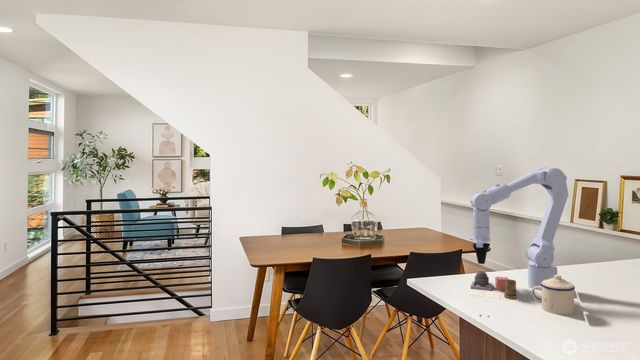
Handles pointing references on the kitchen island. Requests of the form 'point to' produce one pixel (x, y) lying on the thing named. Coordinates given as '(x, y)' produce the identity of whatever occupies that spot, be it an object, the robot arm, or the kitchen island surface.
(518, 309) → the kitchen island surface
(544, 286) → the teacup with lid
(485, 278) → the dark gray round knob
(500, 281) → the die
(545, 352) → the kitchen island surface
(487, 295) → the board
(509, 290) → the flanged wooden peg
